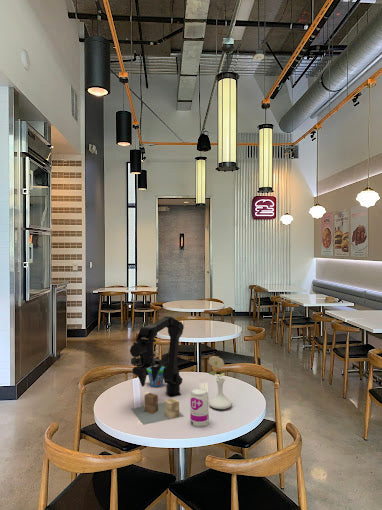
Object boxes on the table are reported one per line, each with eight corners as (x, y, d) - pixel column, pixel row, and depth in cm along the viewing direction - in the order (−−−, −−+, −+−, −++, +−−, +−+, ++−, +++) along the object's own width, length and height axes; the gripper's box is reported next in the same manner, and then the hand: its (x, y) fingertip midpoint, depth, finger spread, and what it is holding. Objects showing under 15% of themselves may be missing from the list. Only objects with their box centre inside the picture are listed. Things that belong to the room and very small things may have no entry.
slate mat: (168, 402, 197) (168, 401, 197) (184, 417, 179) (184, 416, 179) (130, 410, 188) (130, 408, 188) (143, 426, 170) (143, 424, 170)
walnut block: (150, 409, 188) (150, 392, 188) (158, 411, 185) (157, 394, 185) (144, 411, 184) (144, 395, 184) (152, 414, 182) (152, 397, 182)
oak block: (173, 412, 183) (173, 398, 183) (179, 416, 179) (179, 401, 179) (164, 415, 180) (164, 400, 180) (170, 419, 176) (170, 403, 176)
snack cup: (140, 386, 222) (140, 369, 222) (148, 381, 232) (148, 364, 232) (164, 390, 216) (164, 372, 216) (172, 384, 226) (172, 366, 226)
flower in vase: (236, 406, 191) (235, 356, 191) (222, 413, 183) (222, 361, 183) (216, 400, 200) (215, 352, 200) (201, 406, 192) (201, 356, 192)
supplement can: (203, 430, 165) (202, 395, 166) (186, 426, 170) (186, 392, 170) (212, 423, 172) (211, 389, 172) (196, 419, 177) (196, 386, 177)
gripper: (145, 346, 202) (146, 375, 202) (123, 355, 186) (123, 387, 186) (163, 348, 197) (163, 379, 197) (141, 357, 181) (142, 390, 181)
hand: (148, 383), depth 190 cm, fingers open, 9 cm apart
